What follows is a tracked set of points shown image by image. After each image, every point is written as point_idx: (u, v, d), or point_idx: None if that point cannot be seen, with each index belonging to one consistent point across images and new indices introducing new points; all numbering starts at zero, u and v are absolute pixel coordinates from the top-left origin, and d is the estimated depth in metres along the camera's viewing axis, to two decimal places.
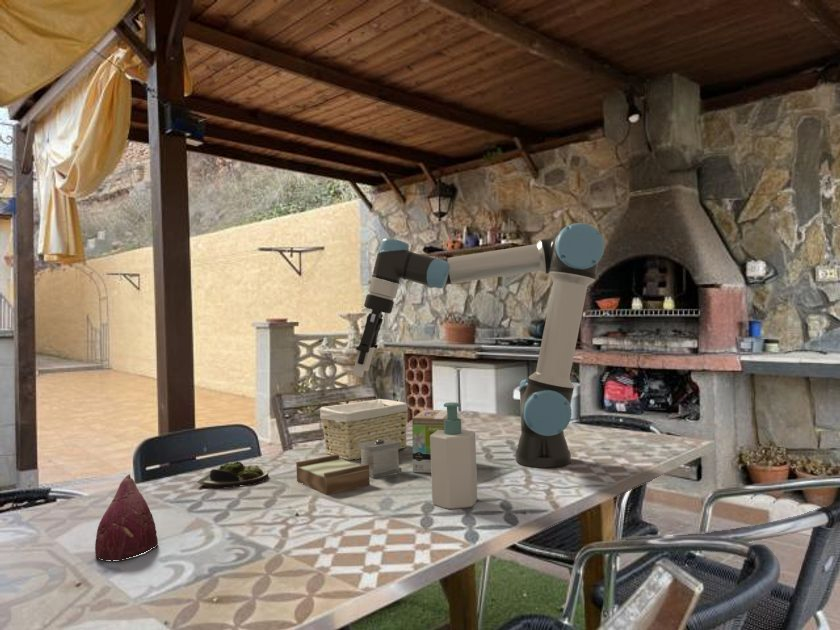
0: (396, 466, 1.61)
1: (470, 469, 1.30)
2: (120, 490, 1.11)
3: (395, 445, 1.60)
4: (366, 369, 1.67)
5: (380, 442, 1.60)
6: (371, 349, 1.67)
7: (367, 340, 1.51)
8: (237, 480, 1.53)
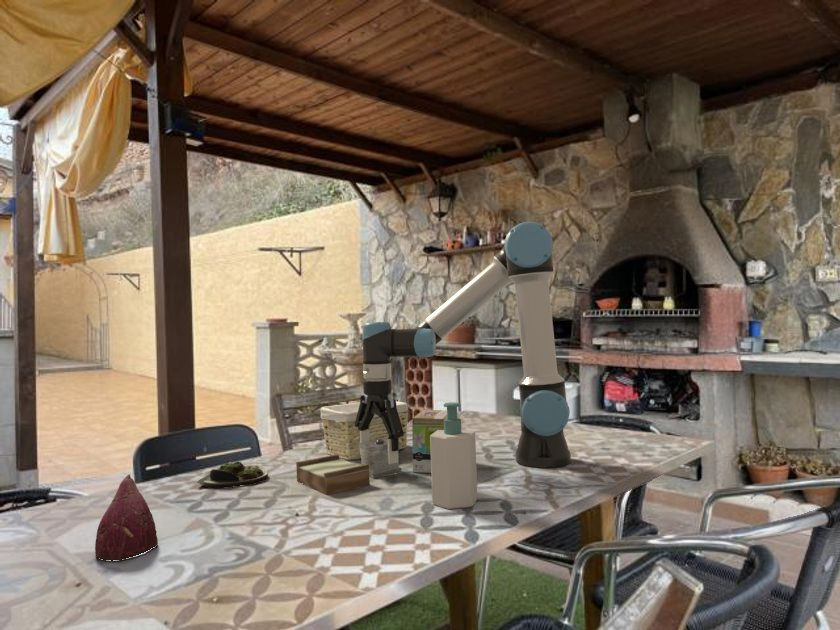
0: (396, 466, 1.61)
1: (470, 469, 1.30)
2: (120, 490, 1.11)
3: None
4: None
5: (380, 442, 1.60)
6: (367, 431, 1.66)
7: (399, 426, 1.54)
8: (237, 480, 1.53)
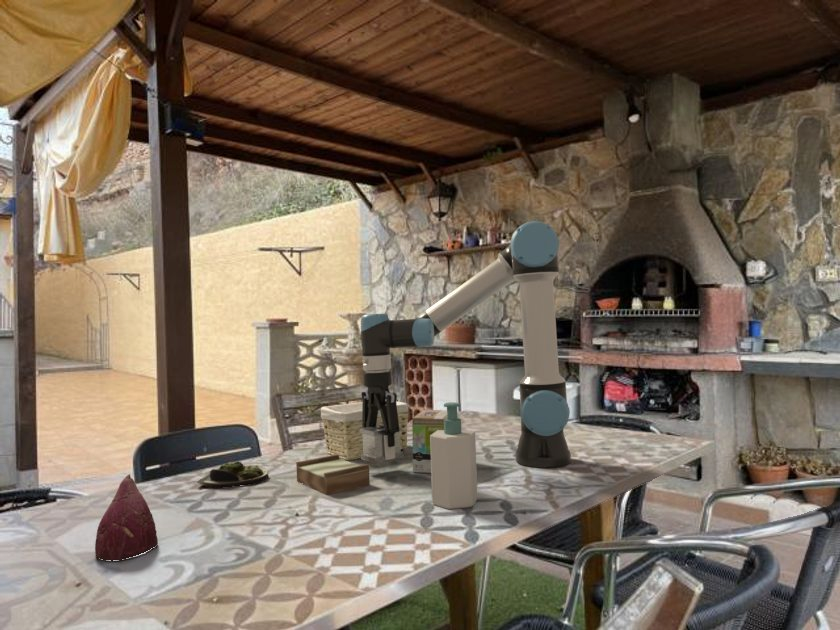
0: (398, 451, 1.61)
1: (470, 469, 1.30)
2: (120, 490, 1.11)
3: None
4: None
5: (381, 427, 1.60)
6: None
7: (396, 422, 1.56)
8: (237, 480, 1.53)
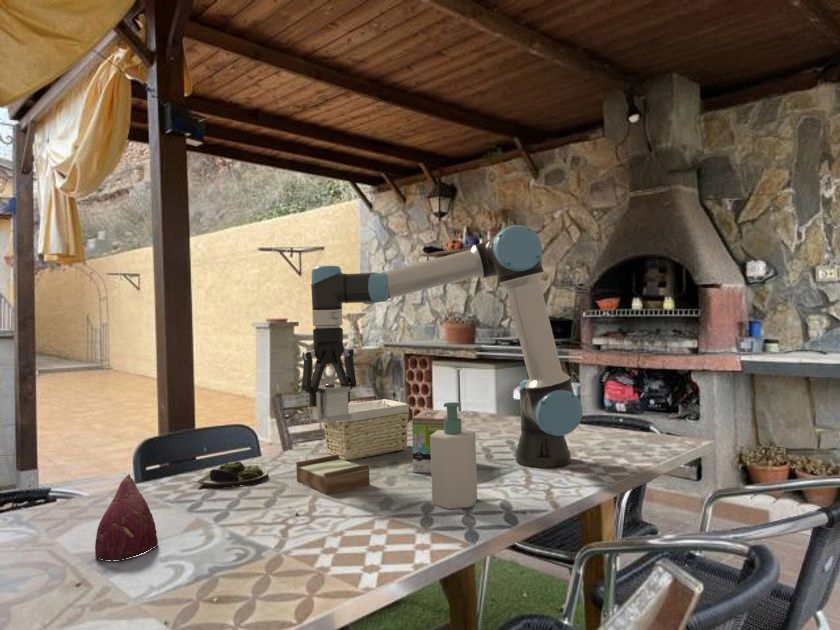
0: None
1: (470, 469, 1.30)
2: (120, 490, 1.11)
3: None
4: None
5: (334, 385, 1.53)
6: None
7: None
8: (237, 480, 1.53)
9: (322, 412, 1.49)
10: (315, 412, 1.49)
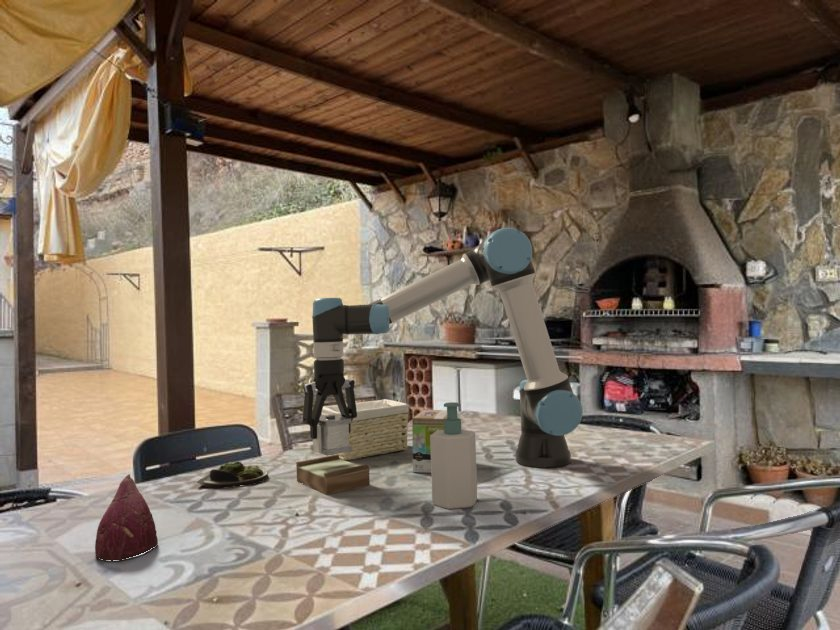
0: None
1: (470, 469, 1.30)
2: (120, 490, 1.11)
3: None
4: None
5: (334, 416, 1.53)
6: None
7: None
8: (237, 480, 1.53)
9: (323, 444, 1.49)
10: (316, 444, 1.49)
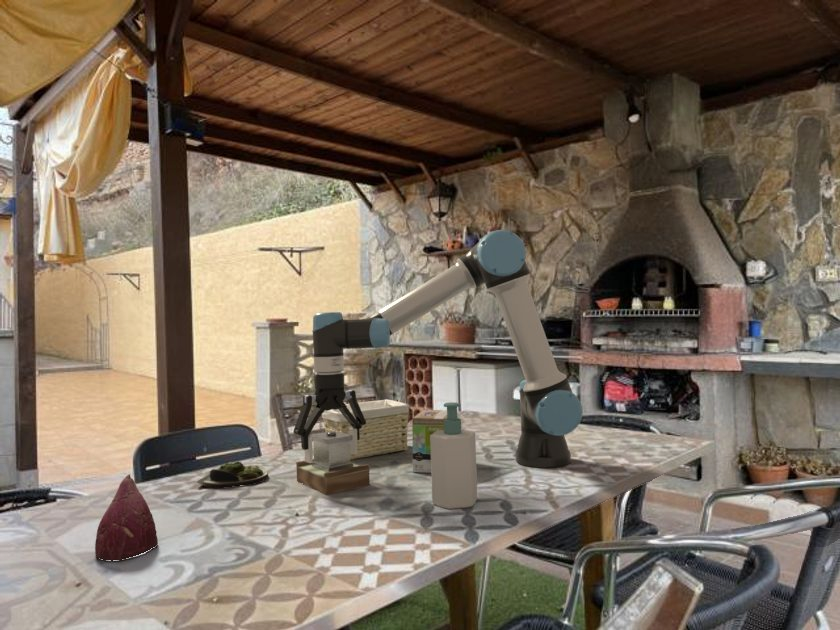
0: None
1: (470, 469, 1.30)
2: (120, 490, 1.11)
3: None
4: None
5: (335, 433, 1.53)
6: None
7: None
8: (237, 480, 1.53)
9: (324, 461, 1.49)
10: (307, 455, 1.48)
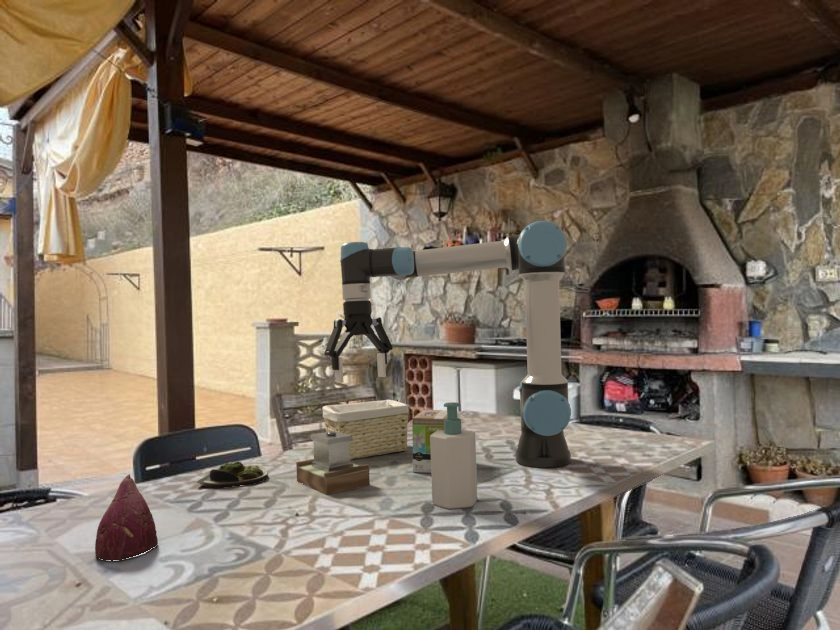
0: None
1: (470, 469, 1.30)
2: (120, 490, 1.11)
3: None
4: None
5: (335, 433, 1.53)
6: None
7: None
8: (237, 480, 1.53)
9: (324, 461, 1.49)
10: (338, 375, 1.56)
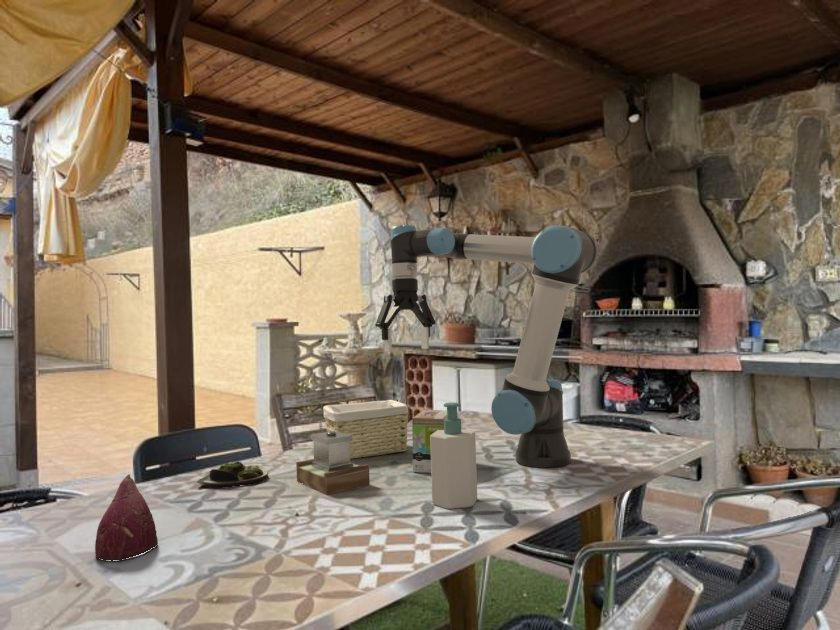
0: None
1: (470, 469, 1.30)
2: (120, 490, 1.11)
3: None
4: None
5: (335, 433, 1.53)
6: None
7: None
8: (237, 480, 1.53)
9: (324, 461, 1.49)
10: (387, 345, 1.72)
